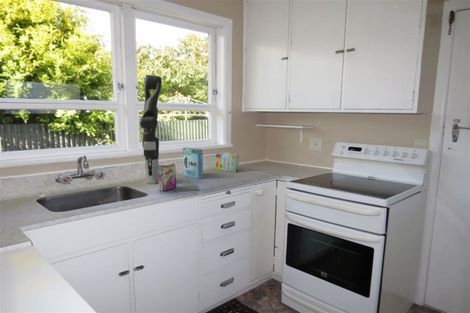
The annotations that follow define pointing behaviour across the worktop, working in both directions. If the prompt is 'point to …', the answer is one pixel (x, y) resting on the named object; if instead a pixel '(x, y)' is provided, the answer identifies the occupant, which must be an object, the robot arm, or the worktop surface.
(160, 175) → the candy bar box
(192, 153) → the gum box
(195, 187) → the mat
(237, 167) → the snack box
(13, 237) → the worktop surface
